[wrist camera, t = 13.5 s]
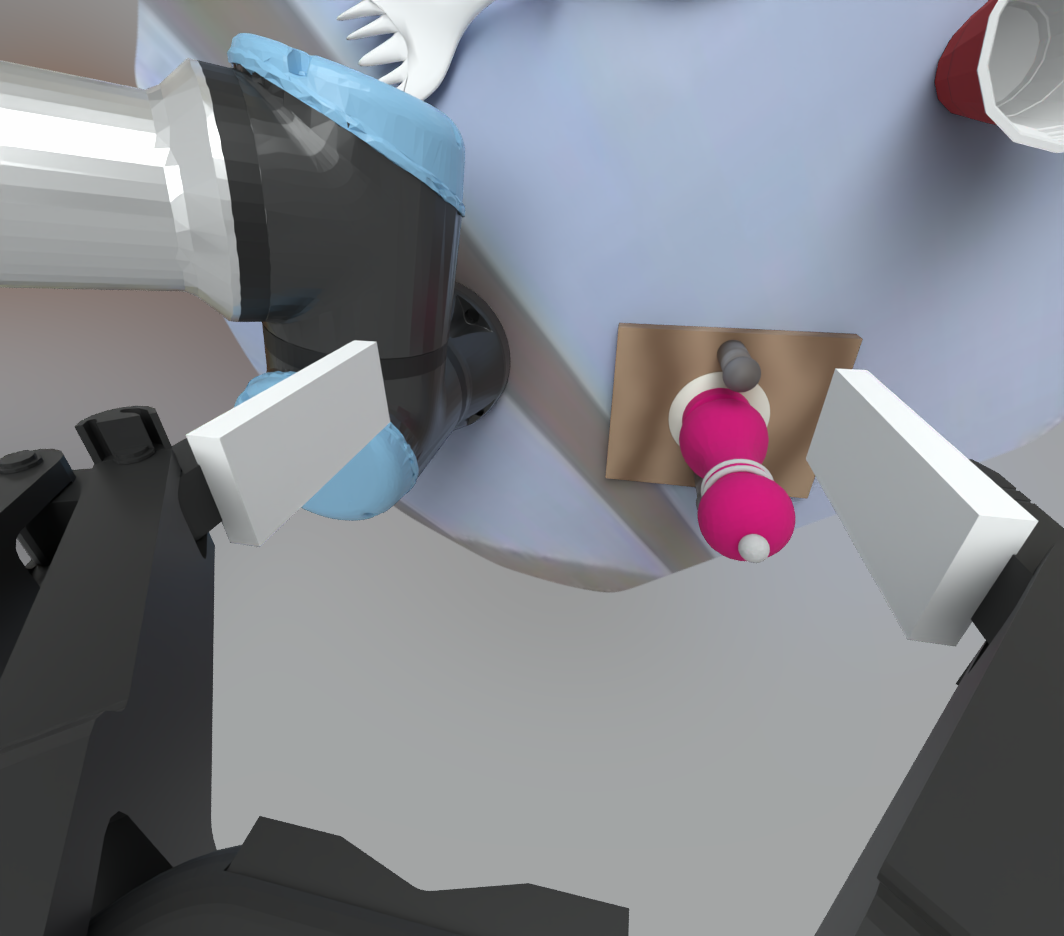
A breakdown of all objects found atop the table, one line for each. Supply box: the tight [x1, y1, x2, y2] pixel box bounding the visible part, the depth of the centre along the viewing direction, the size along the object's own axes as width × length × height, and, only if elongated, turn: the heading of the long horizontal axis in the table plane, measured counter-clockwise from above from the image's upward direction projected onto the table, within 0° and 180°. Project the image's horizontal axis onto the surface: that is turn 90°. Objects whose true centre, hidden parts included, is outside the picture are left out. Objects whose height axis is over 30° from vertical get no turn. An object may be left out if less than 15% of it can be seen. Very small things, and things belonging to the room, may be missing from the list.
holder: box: [606, 323, 862, 510], centre depth 44 cm, size 20×16×8 cm
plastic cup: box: [935, 0, 1064, 153], centre depth 27 cm, size 11×11×12 cm
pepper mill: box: [679, 388, 795, 563], centre depth 38 cm, size 7×7×20 cm
